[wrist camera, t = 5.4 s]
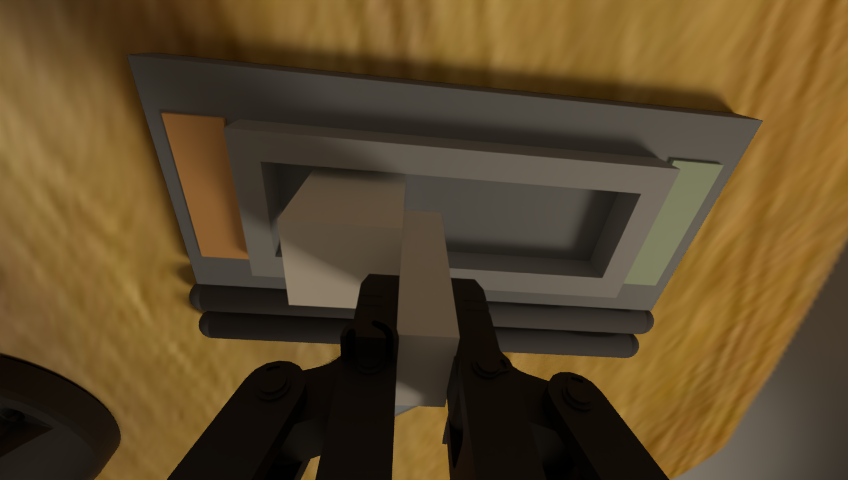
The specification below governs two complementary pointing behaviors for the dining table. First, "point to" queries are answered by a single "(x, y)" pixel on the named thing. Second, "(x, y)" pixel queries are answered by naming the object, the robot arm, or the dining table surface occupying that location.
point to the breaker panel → (442, 173)
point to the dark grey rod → (331, 328)
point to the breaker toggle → (341, 234)
